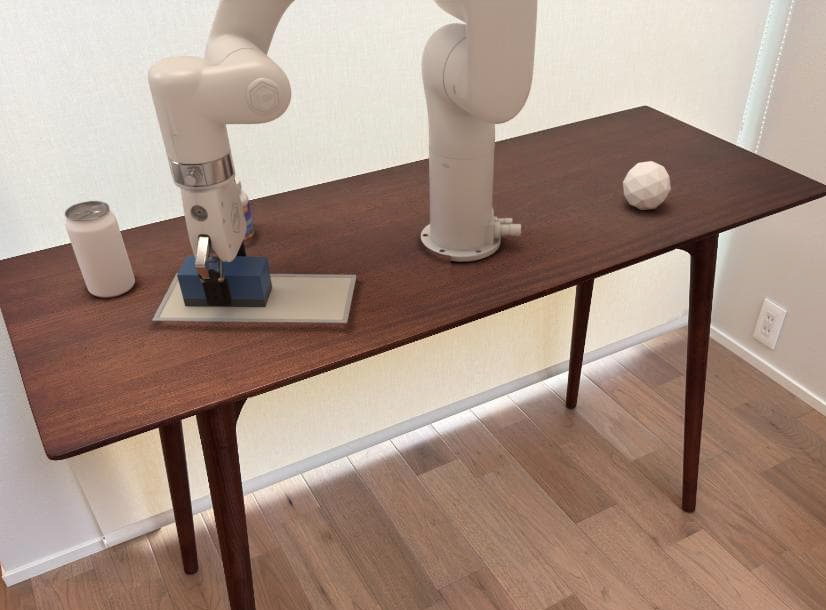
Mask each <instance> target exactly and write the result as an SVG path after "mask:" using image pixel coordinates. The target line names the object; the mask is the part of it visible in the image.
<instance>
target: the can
mask: <svg viewBox="0 0 826 610" xmlns="http://www.w3.org/2000/svg"><path fill="white" fill-rule="evenodd" d="M64 217H65V221H64V222H65V224H64V225H65V230H66V232H67V233H66V234H67V235H68V238H69V242H70V244H71V247H72V250H73V252H74V256H75V258H76V261H77V264H78V266H79V270H80V272H81V276H82V277H83V280H84V281H83V282H84V284H85V287H86V288H87V290H88V292H89V294H91V295H92V296H95V297H97V298H101V299H111V298H115V297H119V296H122V295H124V294H126V293H128V292H130V291H131V290H132V288H133V287H134V285H135V283H136V279H135V275H134V271H133V268H132V265H131V262H130V259H129V258H130V257H129V255H128V252H127V249H126V245H125V242H124V239H123V235H122V233H121V229H120V226H119V223H118V220H117V217H116V215H115V213H114V212H113V211H112V210H111V209H110V205H109V204H108V203H106V202H105V201H100V200H87V201H81V202H78V203H75V204H72V205H71V206H69V207H68V208H67V209H66V210H65V211H64Z"/></svg>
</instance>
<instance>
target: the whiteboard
mask: <svg viewBox="0 0 826 610" xmlns="http://www.w3.org/2000/svg"><path fill="white" fill-rule="evenodd" d="M177 274H178V272H176V274H175V276H174V278H173V280H172V281H171V283H170V285H169V287H168V288H167V291H166V293H165V294H164V296H163V299H162V301H161V302H160V304H159V306H158V308H157V310H156V312H155V314H154V315H153V318H152V320H151V321H152V322H189V323H190V322H193V323H194V322H199V323H200V322H201V323H203V322H204V323H205V322H206V323H278V324H279V323H282V324H289V323H290V324H292V323H293V324H348V321H349V317H350V311H351V306H352V301H353V297H354V291H355V287H356V281H357V274H327V273H326V274H323V273H322V274H321V273H319V274H318V273H317V274H315V273H313V274H312V273H311V274H309V273H308V274H307V273H270V277H271V283H272V290H271V293H270V296H269V299H268V302H267V304H266V307H198V306H185V304H184V300H183V296H182V292H181V288H180V285H179V281H178V277H177Z"/></svg>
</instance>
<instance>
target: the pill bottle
mask: <svg viewBox="0 0 826 610" xmlns="http://www.w3.org/2000/svg"><path fill="white" fill-rule="evenodd" d="M235 180H236V184H237V187H238V191H239V195H240V199H241V203H242V207H243V211H244V215H245V219H246V224H247V230H246V234H245V236H244V239H243V241H247V240H248V239H250V238H252V237H253V236H254V235H255V228H254V222H253V216H252V211H251V205H250V200H249V199H250V198H249V196H248V194H247V192H245V191H244V190H242V186H243V185H242V182H241V179H240V178H239V177H238V176H235Z"/></svg>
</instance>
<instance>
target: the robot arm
mask: <svg viewBox="0 0 826 610" xmlns="http://www.w3.org/2000/svg"><path fill="white" fill-rule="evenodd" d="M295 1H296V0H219V2H218V6H217V9H216V12H215V15H214V18H213V21H212V24H211V28H210V30H209V31H210V32H209V35H208V37H207V42H206V45H205V51H204V58H203V57H200V56H194V55H174V56H169V57H166V58H162V59H160V60H158V61H156V62H154V63H153V64H152V65H151V66H150V67H149V69H148V73H147V81H148V86H149V90H150V94H151V98H152V102H153V106H154V110H155V115H156V118H157V123H158V126H159V129H160V134H161V138H162V142H163V146H164V149H165V154H166V156H167V157H166V158H167V162H168V166H169V169H170V174H171V177H172V182H173V184H174V185H175V186H176V187H178V188H179V189H180V196H181V201H182V208H183V214H184V219H185V220H184V221H185V225H186V229H187V234H188V239H189V243H190V247H191V251H192V253H193V256H195V258H196V261H195V267H196V270H197V271H198V275H199V277H200V280H201V282H202V284H203V288H204V292H205V296H206V300H207V304H208V305H209V306H231V304H232V298H231V293H230V289H229V284H228V280H227V278H224V261H227V262H231V261H233V260H234V258H235V257H236V256H247V252H246V247H245V246H246V245H245V242H244V241H245V240H243V239H244V236H245V234H246V230H247V224H246V219H245V215H244V211H243V207H242V203H241V199H240V195H239V191H238V187H237V184H236V180H235V177H236V170H235V169H236V168H235V163H234V158H233V154H232V147H231V144H230V138H229V134H228V129H227V125H261V124H267V123H270V122H272V121H275V120H277V119H279V118H280V117H281V116H283V115H284V114H285V113H286V112H287V110H288V108H289V106H290V104H291V100H292V87H291V83H290V80H289V77H288V76H287V74H286V73H285V71H284V70H283V68H281V67H280V65H279V64H278V63H277V62H275V61H274V60H273V59H272V58H270V56H268V53H269V50H270V47H271V44H272V41H273V38H274V35H275V33H276V30H277V27H278V25H279V24H280V21H281V20H282V17H283V16H284V14H285V13H286V11H287V10H288V8H289V7H290V6H291V5H292V4H293V3H294V2H295ZM433 1H434V3H435V4H436V5H437V7H438V8H440V9H441V10H442V11H444V12H445V13H447V14H449V15H450V16H452V17H453V18H456V19H457V20H460V21H461V22H463V23H461V22H460V23H459V22H454V23H448V24H445V25H443V26H440V27H439V28H437V29H436V30H435V31H434V32H433V33H432V34H431V35H430V37H429V38H428V39H427V42H426V43H425V45H424V48H423V51H422V56H421V79H422V86H423V91H424V96H425V97H424V98H425V103H426V110H427V111H426V112H427V122H428V169H429V170H428V176H429V177H428V178H429V179H428V180H429V185H428V186H429V223H428V224H427V225H426V226H425V227H424V228H423V229H422V230H421V232H420V240H421V242H422V244H423V245H424V246H425V247H426V248H428V249H429V250H431V251H433V252H434V253H437V254H441V255H445V256H449V257H450V258H449V261H450V262H457V263H458V262H459V263H464V262H465V263H466V262H475V261H478V260H482V259H485V258H488V257H490V256H491V255H493V254H495V253H496V252H497V251H498V250H499V248H500V247H501V243H502V242H501V241H502V239H501V237H511V238H513V237H514V238H515V237H516V238H519V237H520V238H521V237H522V224H521V223H513V217H500V218H499V217H498V216H495V213H494V208H493V198H494V197H493V193H494V170H495V147H496V125H501V124H505V123H507V122H509V121H511V120H513V119H514V118H515V117H516V116H517V115H518V114H520V112H521V111H522V109H524V107H525V105H526V103H527V101H528V98H529V96H530V92H531V89H532V85H533V79H534V78H533V77H534V70H535V69H534V66H535V55H536V53H535V52H536V38H537V37H536V36H537V22H538V21H537V19H538V1H539V0H433ZM424 235H427V236H424ZM211 254H216V256H218V257H210V256H211ZM209 263H217V272H216V271H215V270H214V269H210V265H209Z"/></svg>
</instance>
